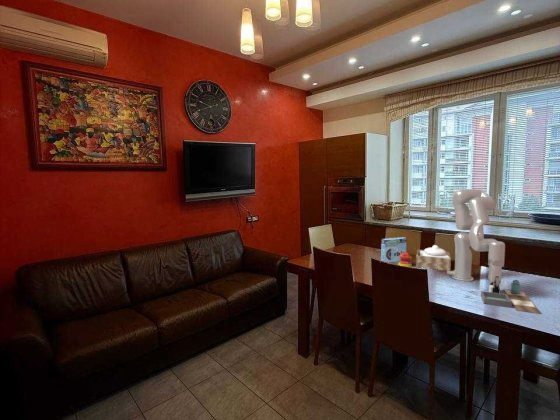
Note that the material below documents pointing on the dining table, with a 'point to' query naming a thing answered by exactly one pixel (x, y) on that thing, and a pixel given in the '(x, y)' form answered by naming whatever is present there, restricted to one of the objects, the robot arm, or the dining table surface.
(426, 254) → the butter dish
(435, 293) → the dining table surface
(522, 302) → the board
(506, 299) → the tray
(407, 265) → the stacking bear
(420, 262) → the dish corral
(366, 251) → the dining table surface
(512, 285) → the pawn
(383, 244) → the gum box
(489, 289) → the die
